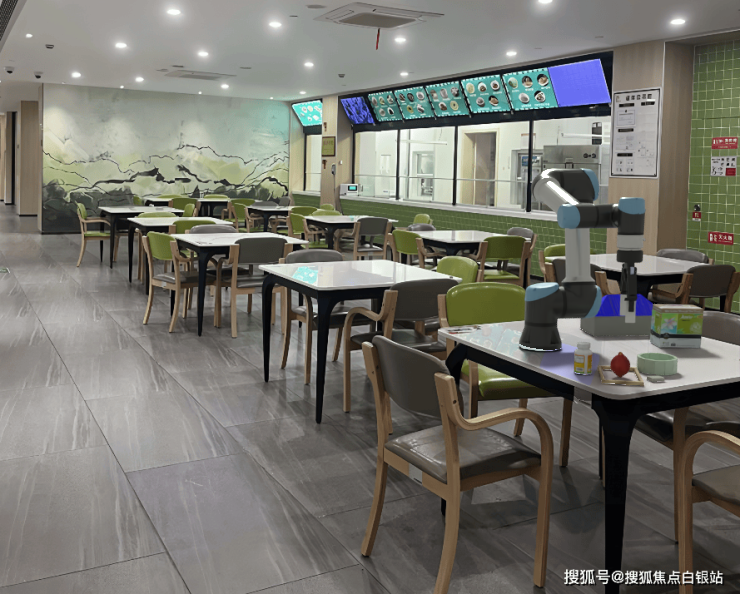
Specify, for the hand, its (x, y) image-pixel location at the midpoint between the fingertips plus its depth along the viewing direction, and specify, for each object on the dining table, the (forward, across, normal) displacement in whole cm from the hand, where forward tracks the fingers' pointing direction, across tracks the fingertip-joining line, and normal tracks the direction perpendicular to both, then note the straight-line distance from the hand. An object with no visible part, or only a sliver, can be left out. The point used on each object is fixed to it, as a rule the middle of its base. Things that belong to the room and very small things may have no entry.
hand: (627, 319), depth 221 cm
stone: (+18, -5, -8) cm, 20 cm away
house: (+17, +72, -5) cm, 74 cm away
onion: (+18, -2, +2) cm, 18 cm away
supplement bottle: (+18, 0, +12) cm, 22 cm away
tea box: (+18, +49, -23) cm, 57 cm away
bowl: (+18, +8, -10) cm, 22 cm away
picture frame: (+18, -2, +2) cm, 18 cm away
